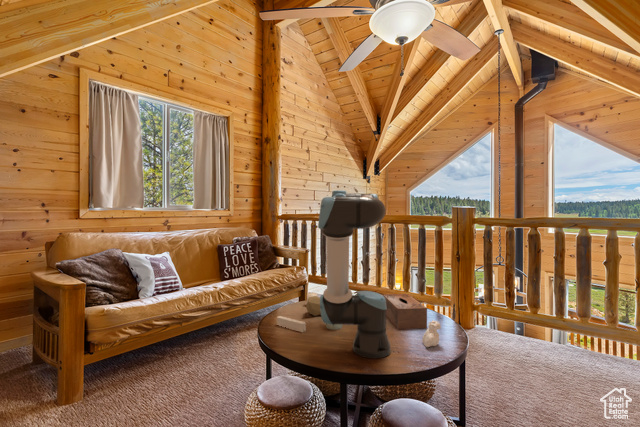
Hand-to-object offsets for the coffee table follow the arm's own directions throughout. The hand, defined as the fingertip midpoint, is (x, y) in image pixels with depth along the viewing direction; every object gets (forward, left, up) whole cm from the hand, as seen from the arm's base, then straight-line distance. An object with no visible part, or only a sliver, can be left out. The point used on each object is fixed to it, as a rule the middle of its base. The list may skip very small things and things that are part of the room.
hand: (339, 266), depth 166 cm
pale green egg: (-10, 0, -28) cm, 30 cm away
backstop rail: (-18, +19, -28) cm, 38 cm away
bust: (-16, -45, -28) cm, 56 cm away
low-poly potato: (+4, +13, -28) cm, 31 cm away
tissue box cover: (+12, -31, -29) cm, 44 cm away
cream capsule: (+18, +22, -28) cm, 40 cm away
